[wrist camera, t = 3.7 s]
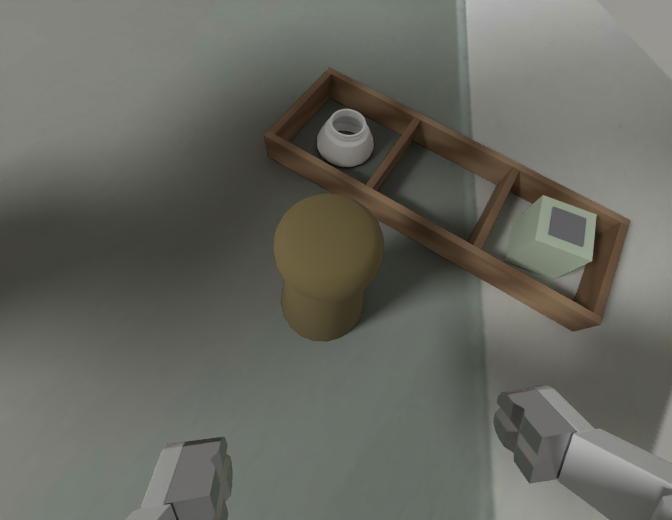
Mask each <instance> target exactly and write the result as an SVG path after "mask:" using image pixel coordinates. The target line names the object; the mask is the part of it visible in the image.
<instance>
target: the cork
mask: <svg viewBox="0 0 672 520" xmlns="http://www.w3.org/2000/svg"><path fill="white" fill-rule="evenodd" d="M273 251H274V256H275V260H276V264H277V268H278V270H279V272H280V274H281V275H282V277H283V278H284V284H283V290H282V299H281V306H282V310H283V315H284V317H285V319H286V320H287V322H288V324H289V325H290V327H291V328H292V329H293V330H295V331H296V332H297V333H298V334H299V335H301V336H303V337H305V338H308V339H311V340H313V341H330V340H334V339H337V338H340V337H342V336H343V335H345V334H346V333H348V332H349V331H351V330H352V328H353V327H354V326H355V324H356V323H357V322H358V321H359V318H360V315H361V312H362V309H363V300H364V289H366V288H367V287H368V285H369V284H370V283H371V282H372V280H373V279H374V278H375V277H376V275H377V274H378V272H379V269H380V266H381V263H382V260H383V257H384V240H383V234H382V231H381V228H380V226H379V223H378V221H377V220H376V218H375V217H374V216H373V214H372V213H371V212H370V211H369V209H367V208H366V207H365V206H363V205H362V204H360V203H359V202H358V201H356V200H355V199H353V198H350V197H347V196H344V195H341V194H334V193H322V194H317V195H312V196H309V197H307V198H305V199H303V200H301V201H299V202H297V203H295V204H294V205H293V206H292V207H291V208H290V209H289V210H288V211H287V212H286V213H285V214H284V215H283V217H282V219H281V221H280V223H279V225H278V227H277V229H276V232H275V237H274V245H273Z"/></svg>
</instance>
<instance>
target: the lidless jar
mask: <svg viewBox="0 0 672 520" xmlns="http://www.w3.org/2000/svg"><path fill="white" fill-rule="evenodd" d="M338 131H350V132H352V133H355V134H354V135H344V134H341V133H339V132H338ZM373 147H374V144H373V137H372V134H371V132H370V129H369V127H368V125H367V124H366V121H365V118H364V117H363V116H362V115H361V114H360V113H359V112H357V111H355V110H352V109H341V110H338V111H336V112H335V113H333V114H332V116H331V117H330V119H328V120H327V122H326V123H325V124H324V125H323V127H322V128H321V130H320V132H319V133H318V135H317V148H318V150H319V152H320V154H321V156H322V157H323V158H324V159H326V160H327V161H328V162H329V163H331V164H334V165H337V166H340V167H353V166H356V165H359V164H362V163H363V162H365V161H366V160H367V159H368V158H369V157H370V155H371V153H372V151H373Z"/></svg>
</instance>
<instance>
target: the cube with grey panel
mask: <svg viewBox="0 0 672 520" xmlns="http://www.w3.org/2000/svg"><path fill="white" fill-rule="evenodd" d="M596 216H597V214H594V213H591V212H588V211H586V210H583V209H580V208H577V207H575V206H572V205H569V204H566V203H564V202H561V201H558V200H555V199H553V198H550V197H547V196H544V195H543V196H541V197H540V198H539V199H538V200H537V201H536V202H534V203H533V204H532V205H531V206H530V207H529V208H527V209H526V210H525V211H524V212H523V213H522V214H521V215H519V216H518V217H517V218H516V219H515V220H514V221H513V223H512V228H511V233H510V238H509V242H508V247H507V252H506V256H505V261H506V262H509V263H511V264H514V265H516V266H519V267H522V268H524V269H527V270H529V271H532V272H535V273H537V274H540V275H542V276H545V277H548V278H550V279H553V280H554V279H556V278H558V277H560V276H562V275H564V274H566V273H568V272H570V271H573V270H575V269H577V268H579V267H581V266H583V265H585V264H587V263H589V262H591V261H592V258H593V247H594V237H595V226H596Z"/></svg>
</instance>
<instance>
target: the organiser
mask: <svg viewBox="0 0 672 520" xmlns="http://www.w3.org/2000/svg"><path fill="white" fill-rule="evenodd" d="M329 98H332V99H334V100H336V101H338V102H340V103H342V104H344V105H345V106H347V107H349V108H351V109H353V110H355V111H357V112H359V113H361V114H363V115H365V116H366V117H368V118H370V119H372V120H374V121H376V122H378V123H380V124H382V125H384V126H386V127H387V128H389V129H391V130H393V131H395V132H397V133H399V134H401V137H400V138H399V139H398V141H397V142H396V144H395V145H394V146H393V148H392V149H391V151H390V152H389V153H388V155H387V156H386V157H385V159H384V160H383V162H382V163H381V164H380V166H379V167H378V169H377V170H376V171H375V173H374V174H373V175H372V177H371V178H370V180H369V181H368V182H367V184H366V185H365V184H363V183H361V182H359V181H358V180H356V179H354V178H352V177H350V176H349V175H347V174H345V173H343V172H341V171H340V170H338V169H336V168H334V167H333V166H331V165H329V164H327V163H325V162H324V161H322V160H320V159H318V158H316V157H315V156H313V155H311V154H309V153H307V152H306V151H304V150H302V149H300V148H299V147H297V146H295V145H293V144H291V143H290V141H291V140H292V139H293V137H294V136H295V135H296V134H297V133H298V132H299V131H300V130H301V129H302V128H303V126H304V125H305V124H306V123H307V122H308V121H309V120H310V119H311V118H312V116H313V115H314V114H315V113H316V112H317V111H318V110H319V109H320V108H321V106H322V105H323V104H324V103H325V102H326V101H327V100H328V99H329ZM264 138H265V143H266V149H267V154H268V157H270V158H272V159H273V160H275V161H277V162H278V163H280V164H282V165H284V166H285V167H287V168H289V169H291V170H292V171H294V172H296V173H298V174H299V175H301V176H303V177H305V178H306V179H308V180H310V181H312V182H313V183H315V184H317V185H319V186H320V187H322V188H324V189H326V190H327V191H329V192H331V193H334V194H341V195H344V196H347V197H350V198H353V199H355V200H356V201H358V202H359V203H360V204H362V205H363V206H365V207H366V208H367V209H369V211H370V212H371V213H372V214H373V216H374V217H375V218H376V219H378V220H380V221H381V222H383V223H385V224H387V225H388V226H390V227H392V228H394V229H395V230H397V231H399V232H400V233H402V234H404V235H406V236H407V237H409V238H411V239H413V240H414V241H416V242H418V243H420V244H421V245H423V246H425V247H427V248H428V249H430V250H432V251H434V252H435V253H437V254H439V255H441V256H442V257H444V258H446V259H448V260H449V261H451V262H453V263H455V264H456V265H458V266H460V267H461V268H463V269H465V270H467V271H468V272H470V273H472V274H474V275H475V276H477V277H479V278H481V279H482V280H484V281H486V282H488V283H489V284H491V285H493V286H495V287H496V288H498V289H500V290H502V291H503V292H505V293H507V294H509V295H510V296H512V297H514V298H516V299H517V300H519V301H521V302H522V303H524V304H526V305H528V306H529V307H531V308H533V309H535V310H536V311H538V312H540V313H542V314H543V315H545V316H547V317H549V318H550V319H552V320H554V321H556V322H557V323H559V324H561V325H563V326H564V327H566V328H568V329H570V330H571V331H577V330H581V329H585V328H589V327H593V326H597V325H600V323H601V320H602V316H603V313H604V309H605V306H606V303H607V299H608V296H609V292H610V289H611V285H612V282H613V278H614V275H615V272H616V268H617V265H618V261H619V258H620V254H621V251H622V248H623V244H624V241H625V237H626V234H627V230H628V227H629V223H630V220H628V219H627V218H625V217H623V216H621V215H619V214H617V213H615V212H613V211H611V210H609V209H607V208H605V207H603V206H601V205H599V204H597V203H595V202H593V201H591V200H589V199H587V198H585V197H583V196H581V195H579V194H577V193H575V192H573V191H571V190H569V189H568V188H566V187H564V186H562V185H560V184H558V183H556V182H554V181H552V180H550V179H548V178H546V177H544V176H542V175H540V174H538V173H536V172H534V171H532V170H530V169H528V168H526V167H524V166H522V165H520V164H518V163H516V162H514V161H512V160H510V159H508V158H507V157H505V156H503V155H501V154H499V153H497V152H495V151H493V150H491V149H489V148H487V147H485V146H483V145H481V144H479V143H477V142H475V141H473V140H471V139H469V138H467V137H465V136H463V135H461V134H459V133H457V132H455V131H453V130H451V129H449V128H448V127H446V126H444V125H442V124H440V123H438V122H436V121H434V120H432V119H430V118H428V117H426V116H424V115H422V114H420V113H418V112H416V111H414V110H412V109H410V108H408V107H406V106H404V105H402V104H400V103H398V102H396V101H394V100H392V99H390V98H389V97H387V96H385V95H383V94H381V93H379V92H377V91H375V90H373V89H371V88H369V87H367V86H365V85H363V84H361V83H359V82H357V81H355V80H353V79H351V78H349V77H347V76H345V75H343V74H341V73H339V72H337V71H335V70H333V69H331V68H328V69H327V70H326V71H325V72H324V73H323V74H322V75H321V77H320V78H319V79H318V80H317V81H316V82H315V83H314V84H313V85H312V86H311V87H310V88H309V89H308V90H307V91H306V92H305V93H304V94H303V95H302V96H301V97H300V98H299V100H298V101H297V102H296V103H295V104H294V105H293V106H292V107H291V108H290V109H289V110H288V111H287V112H286V113H285V114H284V115H283V116H282V117H281V118H280V119H279V120H278V121H277V123H276V124H275V125H274V126H273V127H272V128H271V129H270V130H269V131H268V132H267V133H266V134H265V135H264ZM412 141H414V142H416V143H418V144H420V145H422V146H424V147H426V148H428V149H429V150H431V151H433V152H435V153H437V154H439V155H441V156H443V157H445V158H447V159H449V160H450V161H452V162H454V163H456V164H458V165H460V166H462V167H464V168H466V169H468V170H470V171H471V172H473V173H475V174H477V175H479V176H481V177H483V178H485V179H487V180H489V181H491V182H492V183H494V184H496V185H497V186H496V188H495V190H494V192H493V194H492V196H491V198H490V199H489V201H488V203H487V205H486V207H485V209H484V211H483V213H482V215H481V217H480V219H479V221H478V223H477V225H476V227H475V229H474V230H473V232H472V234H471V236H470V238H469V240H468V242H467V241H465V240H463V239H461V238H459V237H458V236H456V235H454V234H452V233H450V232H449V231H447V230H445V229H443V228H442V227H440V226H438V225H436V224H434V223H433V222H431V221H429V220H427V219H425V218H424V217H422V216H420V215H418V214H416V213H415V212H413V211H411V210H409V209H408V208H406V207H404V206H402V205H400V204H399V203H397V202H395V201H393V200H391V199H390V198H388V197H386V196H384V195H383V194H381V193H379V192H377V191H378V190H379V188H380V187H381V186H382V184H383V183H384V181H385V180H386V178H387V177H388V176H389V174H390V173H391V171H392V170H393V168H394V167H395V165H396V164H397V163H398V161H399V160H400V158H401V157H402V155H403V154H404V153H405V151H406V150H407V148H408V147H409V145H410V144H411V143H412ZM509 191H510V192H512V193H513V194H515V195H517V196H519V197H521V198H523V199H525V200H527V201H529V202H531V203H532V204H533V203H534V202H536V201H537V200H538V199H539V198H540V197H541V196H543V195H544V196H547V197H550V198H553V199H555V200H558V201H561V202H564V203H566V204H569V205H572V206H575V207H577V208H580V209H583V210H586V211H588V212H591V213H594V214H597V216H596V226H595V240H594V247H593V258H592V261H591V262H589V263H587V264H586V267H585V270H584V273H583V276H582V279H581V282H580V285H579V288H578V291H577V294H576V297H575V300H574V301H572V300H570V299H568V298H567V297H565V296H563V295H561V294H559V293H558V292H556V291H554V290H552V289H551V288H549V287H547V286H545V285H543V284H542V283H540V282H538V281H536V280H534V279H533V278H531V277H529V276H527V275H525V274H524V273H522V272H520V271H518V270H517V269H515V268H513V267H511V266H509V265H508V264H506V263H504V262H502V261H500V260H499V259H497V258H495V257H493V256H492V255H490V254H488V253H486V252H484V251H483V250H481V248H482V246H483V244H484V242H485V240H486V238H487V236H488V234H489V232H490V230H491V228H492V226H493V224H494V222H495V220H496V218H497V216H498V214H499V212H500V210H501V207H502V205H503V203H504V201H505V199H506V197H507V195H508V193H509Z"/></svg>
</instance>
